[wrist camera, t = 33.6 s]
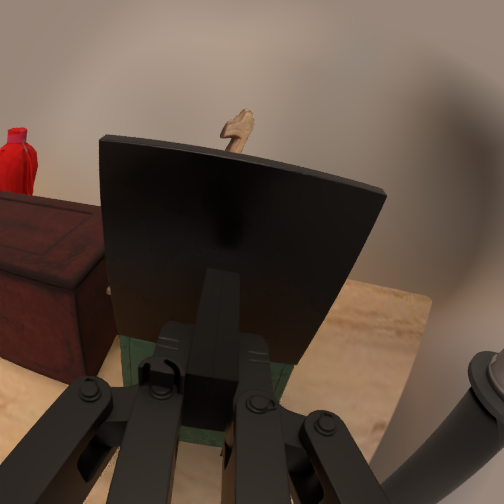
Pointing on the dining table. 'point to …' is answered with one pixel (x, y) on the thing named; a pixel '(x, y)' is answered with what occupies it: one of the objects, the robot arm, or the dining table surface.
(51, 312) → the storage box
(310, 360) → the dining table surface
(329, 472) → the robot arm
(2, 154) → the water bottle
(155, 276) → the black flat panel
